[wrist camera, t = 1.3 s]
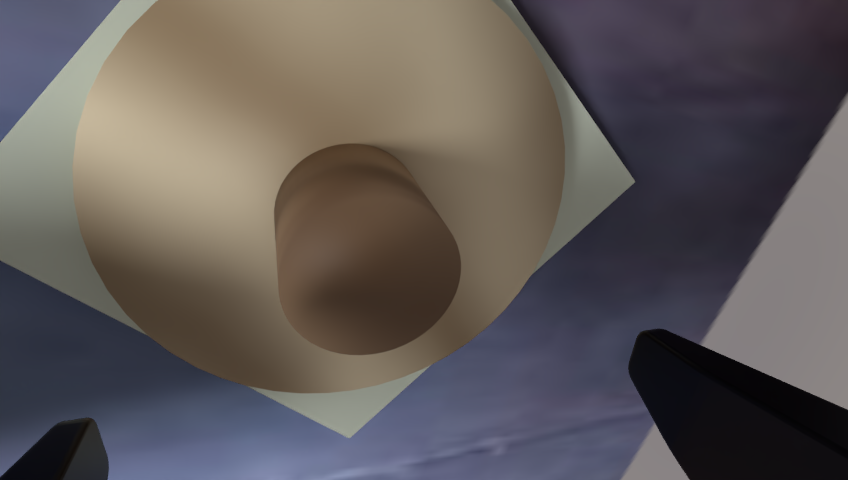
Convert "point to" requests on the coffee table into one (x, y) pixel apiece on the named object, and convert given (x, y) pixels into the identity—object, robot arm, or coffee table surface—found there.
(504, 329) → the coffee table surface
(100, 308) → the sage mat
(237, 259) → the oak lid
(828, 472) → the robot arm
